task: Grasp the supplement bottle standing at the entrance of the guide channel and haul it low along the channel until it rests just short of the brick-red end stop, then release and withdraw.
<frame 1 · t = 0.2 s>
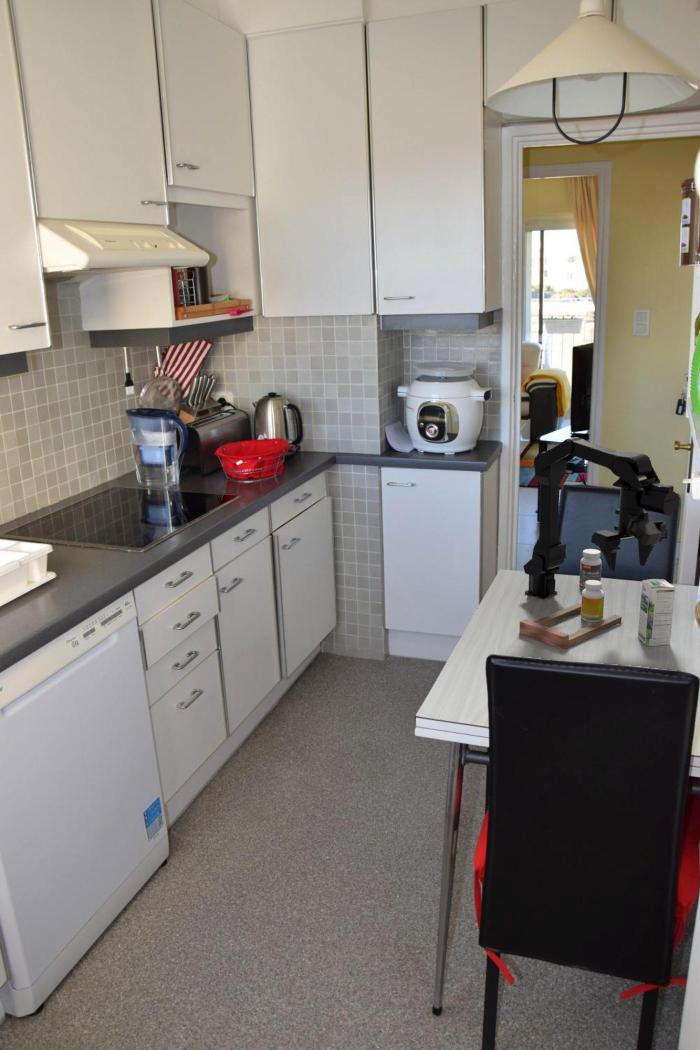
hand: (627, 568, 206), 14 cm above the table, fingers open, 9 cm apart
syrup box: (653, 641, 198), on the table
supplement bottle: (591, 619, 213), on the table
guide: (573, 626, 208), on the table
pill bottle: (589, 585, 236), on the table
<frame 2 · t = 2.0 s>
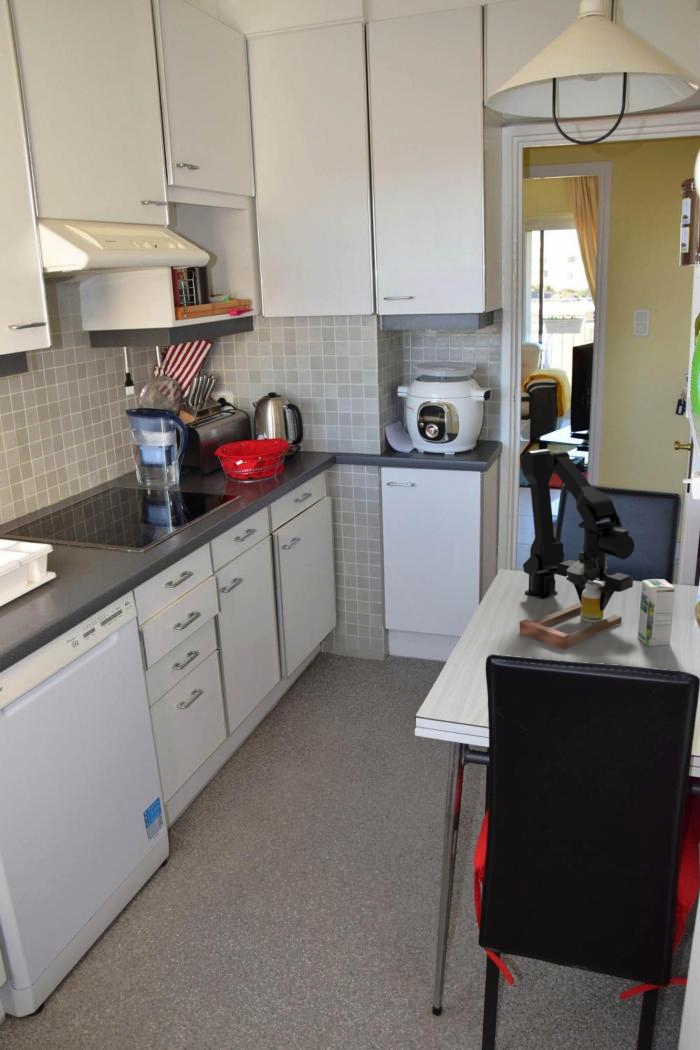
hand: (592, 607, 212), 3 cm above the table, fingers closed on supplement bottle, 5 cm apart
supplement bottle: (591, 619, 213), on the table, touching gripper
everything else where it was.
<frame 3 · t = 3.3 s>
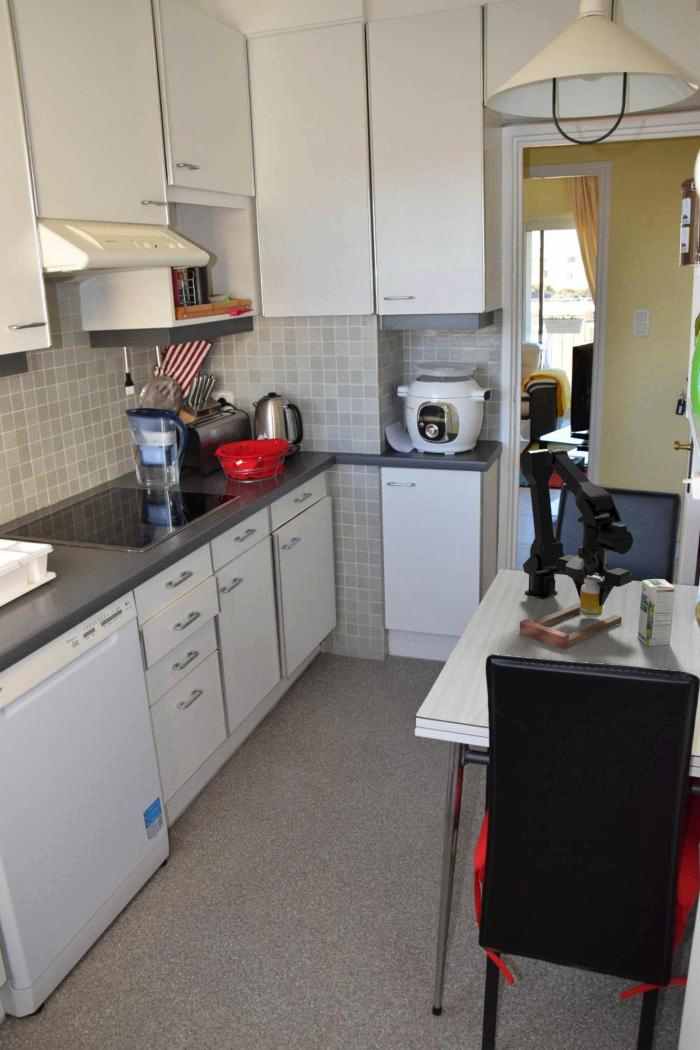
hand: (591, 602, 211), 4 cm above the table, fingers closed on supplement bottle, 5 cm apart
supplement bottle: (590, 614, 212), point 1 cm above the table, touching gripper
everything else where it was.
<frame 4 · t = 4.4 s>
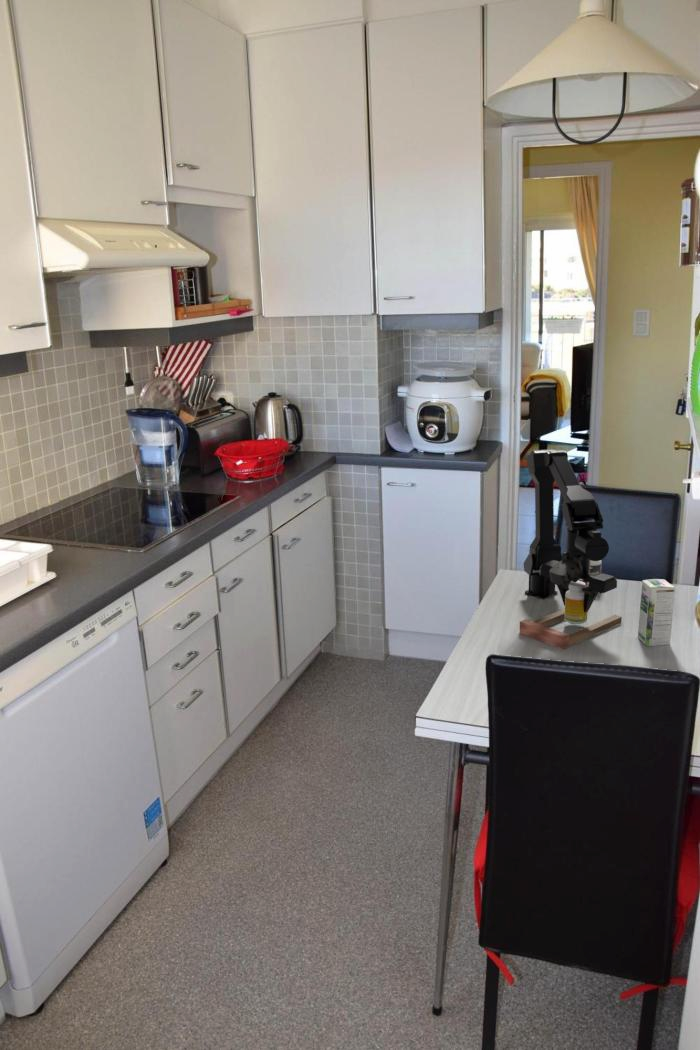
hand: (576, 608, 207), 5 cm above the table, fingers closed on supplement bottle, 5 cm apart
supplement bottle: (575, 621, 208), point 1 cm above the table, touching gripper
everything else where it was.
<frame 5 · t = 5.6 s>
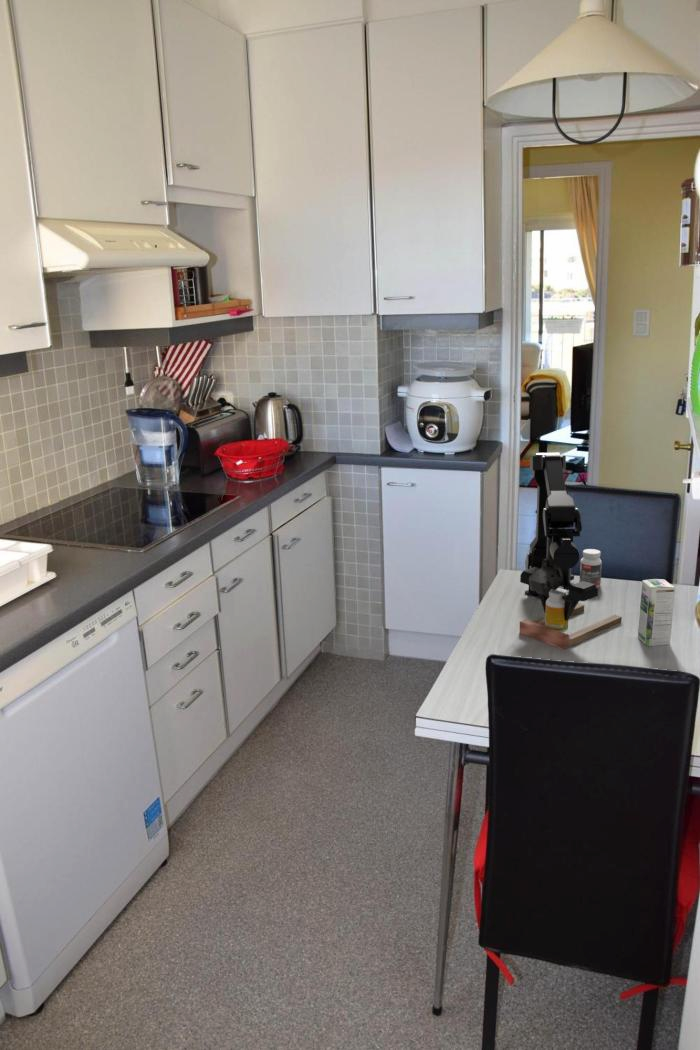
hand: (556, 617, 203), 4 cm above the table, fingers closed on supplement bottle, 5 cm apart
supplement bottle: (556, 629, 204), point 1 cm above the table, touching gripper
everything else where it was.
when the fingers open (3 cm above the table, at t = 6.7 s): supplement bottle stays where it is, on the table.
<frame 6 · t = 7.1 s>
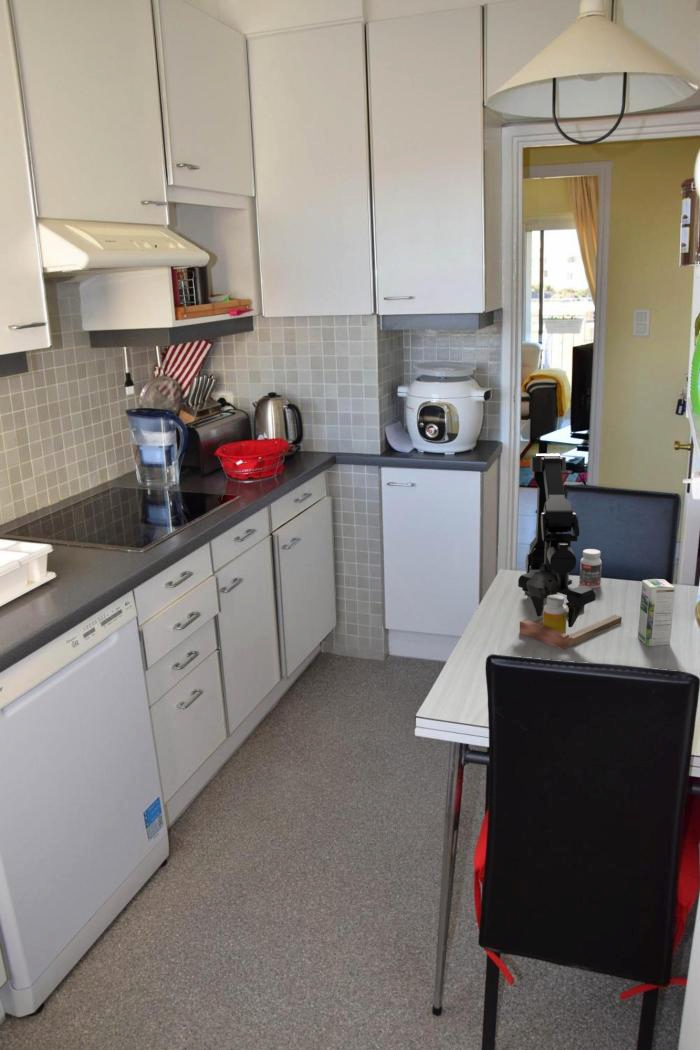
hand: (554, 621, 203), 3 cm above the table, fingers open, 9 cm apart
supplement bottle: (554, 635, 204), on the table
everything else where it was.
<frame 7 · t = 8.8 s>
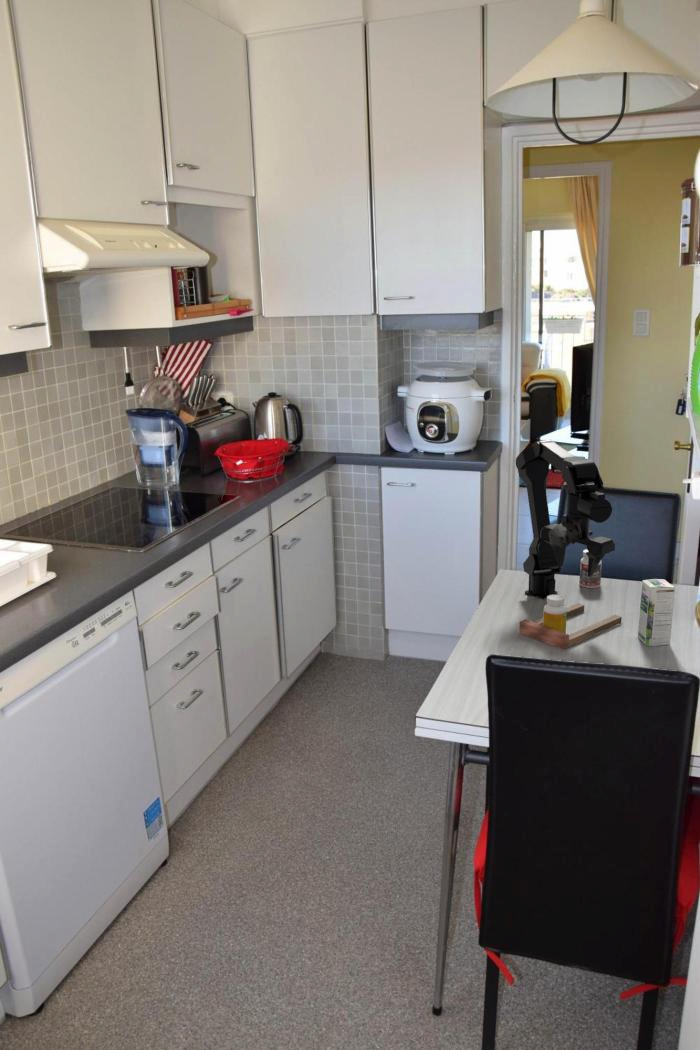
hand: (575, 571, 211), 12 cm above the table, fingers open, 9 cm apart
nothing on the table moved.
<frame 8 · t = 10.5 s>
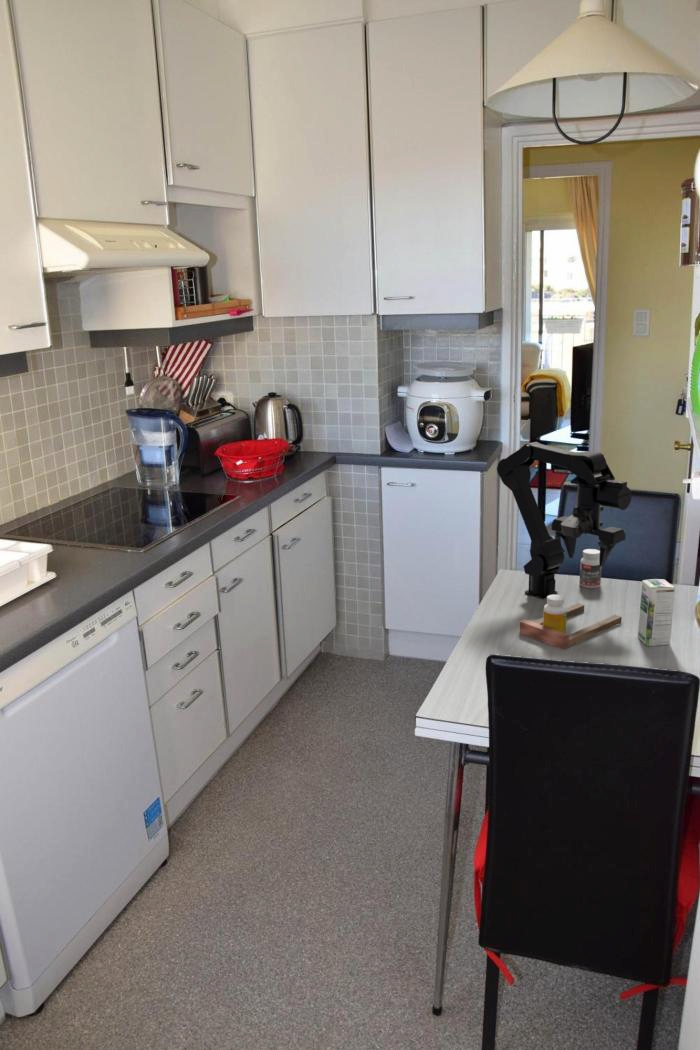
hand: (586, 561, 217), 13 cm above the table, fingers open, 9 cm apart
nothing on the table moved.
at the end: supplement bottle inside the target area (0.1 cm from its centre), on the table; supplement bottle tilted 0°; the gripper is holding nothing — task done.
